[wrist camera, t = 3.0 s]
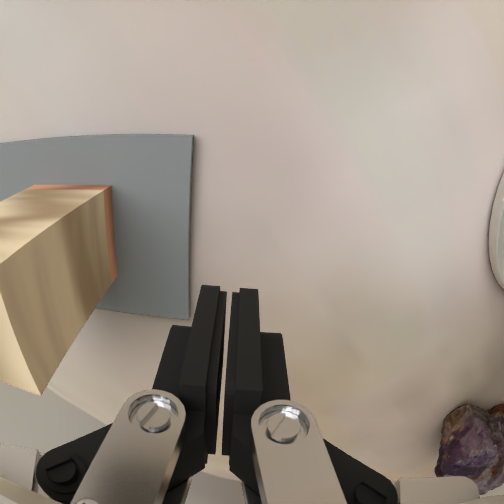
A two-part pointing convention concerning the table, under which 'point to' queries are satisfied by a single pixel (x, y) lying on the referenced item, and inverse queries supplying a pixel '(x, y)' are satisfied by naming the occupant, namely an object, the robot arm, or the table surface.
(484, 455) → the rock
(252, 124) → the table surface
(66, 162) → the mat
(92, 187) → the maple block
